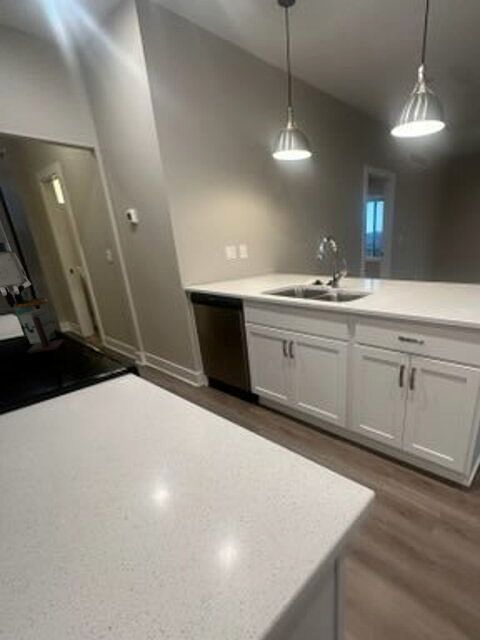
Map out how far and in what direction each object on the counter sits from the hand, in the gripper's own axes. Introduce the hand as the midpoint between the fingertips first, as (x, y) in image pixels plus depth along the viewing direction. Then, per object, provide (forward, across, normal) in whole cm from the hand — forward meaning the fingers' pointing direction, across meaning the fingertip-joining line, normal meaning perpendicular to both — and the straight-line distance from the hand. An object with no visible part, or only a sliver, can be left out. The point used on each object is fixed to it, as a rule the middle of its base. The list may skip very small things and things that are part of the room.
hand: (17, 305), depth 116 cm
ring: (0, +4, 0) cm, 4 cm away
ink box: (+17, 0, +12) cm, 21 cm away
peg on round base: (+16, +4, 0) cm, 17 cm away
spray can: (+17, -7, +24) cm, 30 cm away
